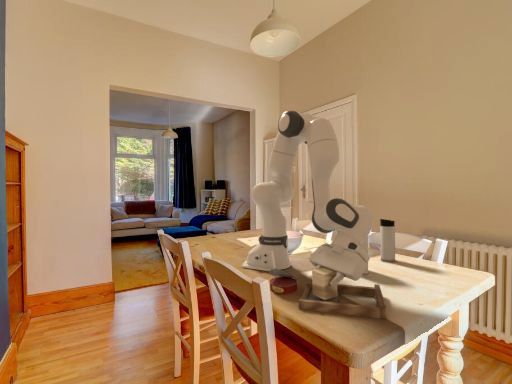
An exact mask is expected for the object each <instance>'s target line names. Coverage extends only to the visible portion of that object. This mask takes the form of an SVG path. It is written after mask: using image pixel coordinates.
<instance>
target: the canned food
mask: <svg viewBox="0 0 512 384" xmlns="http://www.w3.org/2000/svg"><path fill="white" fill-rule="evenodd" d="M268 272H269V274H270V275H272V276H275V277H273V278H271V279H270V280H269V285H270V286H269V288H270V289H269V290H270V291H271V293H274V294H278V295H290V294H291V295H292V294H294V293H296V292H297V291H298V280H297V279H298V277H297V276H295V275H293V274H290V273H288V272H286V271H284V270H283V269H281V270H279V269H271V270H270V271H268Z"/></svg>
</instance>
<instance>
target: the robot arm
mask: <svg viewBox="0 0 512 384" xmlns="http://www.w3.org/2000/svg"><path fill="white" fill-rule="evenodd" d="M277 129H278V132H277V134H276V136H275V140H274V142H273V145H272V148H271V153H270V156H269V161H268V165H267V168H268V169H269V171H270V177H271V178H270V181H264V182H263V181H262V182H260V183H257V184H255V185H254V186H253V188H252V189H251V193H250V196H251V200H252V201H253V203H254V204H255V205H256V207H257V208H258V211H259V213H260V216H261V223H262V226H261V227H262V234H261V235H260V236H259V237H258V238H257V239H258V240H257V241H258V242H259V243H258V244H257V245H254V247H253V248H251V249H250V251H248V253H247V258H246V260H243V261H244V262H242V268H244V269H251V270H258V271H265V272H270V270H271V269H279V270H285V269H288V268H290V267H291V266H292V264H291V261H290V258H289V257H290V256H289V250H288V247H289V239H288V237H289V236H288V234H287V231H288V230H287V218H286V216H285V215H283V212H282V209H281V205H285V204H287V203H289V202H291V201H292V200H293V198H294V196H295V189H294V187H293V185H292V184H293V183H292V181H293V180H292V175H293V169H294V165H295V160H296V157H297V153H298V149H299V145H300V144H301V143H304V144H306V145H307V152H308V157H309V163H310V174H311V175H310V176H311V188H312V198H313V199H312V200H313V210H312V214H311V223H312V225H313V227H314V228H315V230H317V231H318V232H320V233H323V234H330V233H332V232H334V231H335V230H336V231H337V234H336V235H335V236H334V238H333V240H332V241H331V242H330V243H327V242H326V243H323V244H321V245H319V246H318V247H316V248H317V249H316V250H315V251H314V253H313V254H310V257H309V262H310V263H311V264H312V265H313V266H314V267H315V269H319V268H323V267H326V268H329V269H331V270H334V271H337V274H336V275H337V276H336V277H334V278H333V279H330V281H329V282H328V284H329V285H330V286H332V287H335V285H336V284H339V283H340V282H341V281H343V280H344V278H346V279H349V280H351V281H352V280H353V281H359V280H360V279H361V278H362V276H363V275H364V274H363V272H364V270H365V268H366V263H367V262H368V263H369V262H370V256H369V254H368V255H367V254H366V252H365V251H364V250H363V249H362V248H361V247H362V243H363V241H364V240H365V239H366V238H367V237H368V236H369V235H370V233H371V231H372V230H373V227H374V224H375V215H374V213H373V211H372V210H371V209H369V208H368V207H367V206H365V205H356V204H352V203H350V202H348V201H346V200H345V199H342V198H338V197H337V198H332V199H331V194H330V186H329V185H330V179H331V177H332V174H333V172H334V170H335V168H336V167H337V164H338V162H339V161H340V148H339V147H340V146H339V143H338V139H337V135H336V132H335V129H334V127H333V124H332V123H331V121H330V120H329V119H328V118H325V117H317V116H315V115H312V114H309V113H303V112H299V111H296V110H287V111H284V112H283V113H282V114H281V115H280V116H279V119H278V121H277Z"/></svg>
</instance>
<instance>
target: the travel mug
mask: <svg viewBox="0 0 512 384" xmlns="http://www.w3.org/2000/svg"><path fill="white" fill-rule="evenodd" d="M379 222H380V223H379V225H380V227H379V229H380V230H379V232H380V234H379V235H380V261H382V262H384V263H395V262H396V231H395V230H396V229H395V228H396V227H395V225H396V224H395V223H396V221H395V220H391V219H385V218H380V219H379Z"/></svg>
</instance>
